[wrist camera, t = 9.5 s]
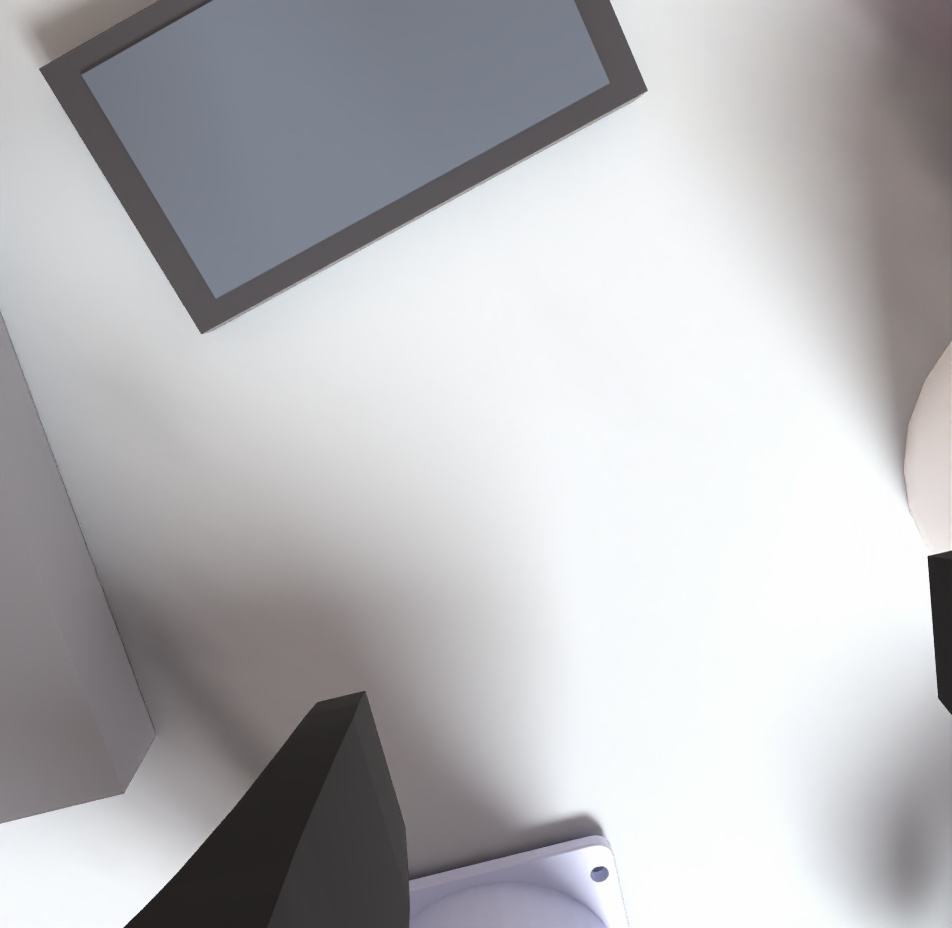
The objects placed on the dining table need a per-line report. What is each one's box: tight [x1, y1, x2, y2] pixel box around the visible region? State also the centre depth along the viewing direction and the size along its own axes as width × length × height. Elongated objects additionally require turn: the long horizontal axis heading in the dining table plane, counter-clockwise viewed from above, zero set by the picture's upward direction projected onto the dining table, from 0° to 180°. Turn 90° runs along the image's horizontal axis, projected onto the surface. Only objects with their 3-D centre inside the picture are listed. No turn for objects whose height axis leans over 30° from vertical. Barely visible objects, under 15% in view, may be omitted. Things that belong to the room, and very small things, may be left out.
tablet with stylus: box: [39, 0, 648, 334], centre depth 17 cm, size 8×13×1 cm, turn 118°
